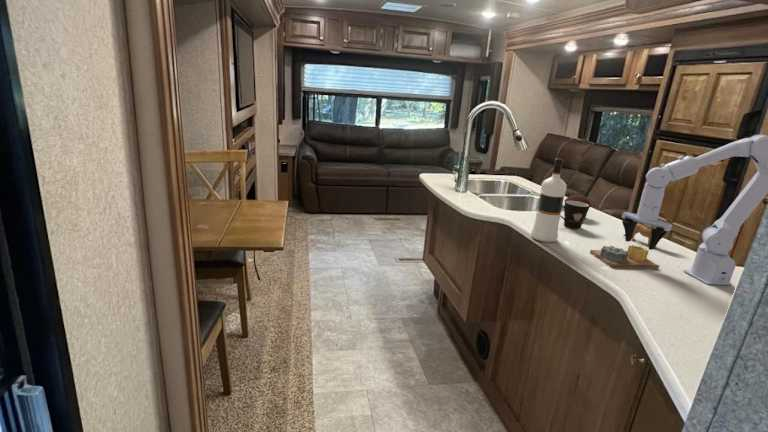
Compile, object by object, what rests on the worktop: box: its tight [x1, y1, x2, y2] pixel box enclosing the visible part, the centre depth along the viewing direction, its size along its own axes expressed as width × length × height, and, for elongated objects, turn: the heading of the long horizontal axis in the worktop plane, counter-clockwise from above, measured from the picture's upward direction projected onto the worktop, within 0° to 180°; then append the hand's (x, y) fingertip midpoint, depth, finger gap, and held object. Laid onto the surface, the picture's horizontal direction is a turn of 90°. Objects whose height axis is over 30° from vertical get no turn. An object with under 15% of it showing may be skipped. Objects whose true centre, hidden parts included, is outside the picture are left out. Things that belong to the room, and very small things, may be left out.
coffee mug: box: [560, 201, 589, 230], centre depth 167 cm, size 12×9×10 cm
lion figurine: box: [623, 222, 670, 248], centre depth 153 cm, size 15×5×9 cm, turn 35°
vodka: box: [530, 157, 567, 244], centre depth 146 cm, size 9×9×30 cm
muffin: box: [563, 193, 592, 220], centre depth 182 cm, size 12×11×10 cm
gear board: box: [589, 245, 660, 270], centre depth 133 cm, size 12×16×4 cm
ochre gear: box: [626, 244, 650, 262], centre depth 134 cm, size 6×6×4 cm
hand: (639, 245), depth 133 cm, fingers open, 7 cm apart
